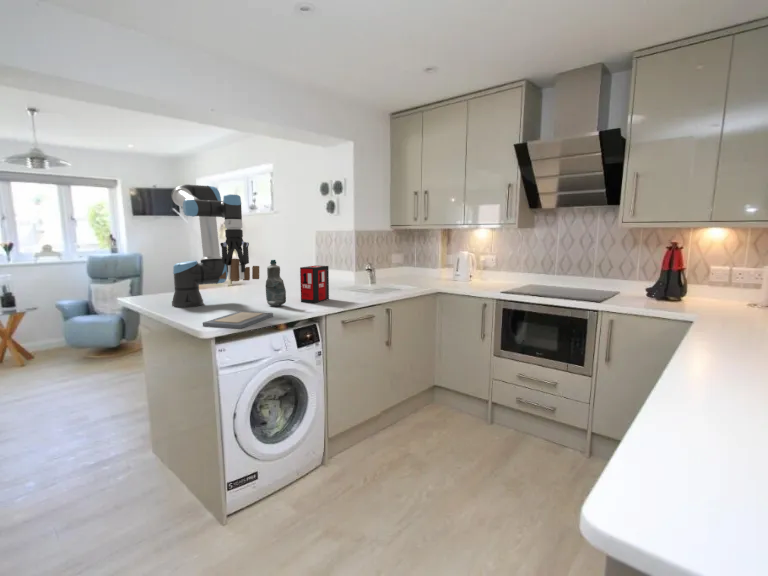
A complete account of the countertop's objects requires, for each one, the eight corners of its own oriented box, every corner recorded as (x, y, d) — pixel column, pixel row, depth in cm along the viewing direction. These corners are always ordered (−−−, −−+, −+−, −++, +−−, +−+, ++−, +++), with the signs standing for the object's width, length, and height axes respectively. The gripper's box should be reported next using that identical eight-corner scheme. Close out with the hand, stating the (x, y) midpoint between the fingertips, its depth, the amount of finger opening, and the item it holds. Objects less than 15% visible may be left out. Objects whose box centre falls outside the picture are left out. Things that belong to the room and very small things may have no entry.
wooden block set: (258, 283, 197) (258, 262, 198) (260, 280, 189) (260, 259, 190) (219, 282, 190) (219, 261, 191) (219, 280, 182) (219, 257, 183)
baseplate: (202, 326, 167) (202, 321, 167) (239, 314, 192) (239, 310, 192) (240, 328, 163) (240, 324, 163) (273, 316, 188) (272, 312, 188)
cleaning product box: (314, 303, 224) (313, 267, 221) (301, 302, 227) (300, 267, 224) (329, 299, 239) (328, 265, 236) (316, 298, 242) (315, 265, 240)
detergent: (289, 305, 216) (288, 259, 213) (281, 308, 210) (279, 260, 206) (270, 304, 221) (268, 259, 218) (261, 306, 215) (259, 259, 211)
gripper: (211, 229, 182) (214, 279, 185) (246, 228, 178) (249, 280, 180) (221, 229, 189) (224, 278, 192) (255, 228, 185) (258, 278, 188)
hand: (236, 279), depth 186 cm, fingers open, 5 cm apart
